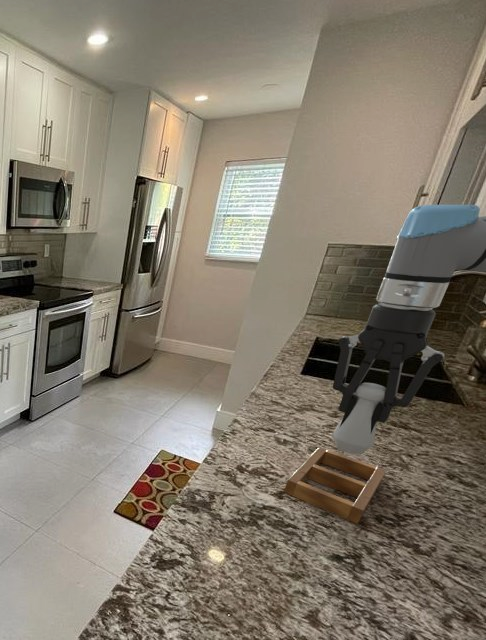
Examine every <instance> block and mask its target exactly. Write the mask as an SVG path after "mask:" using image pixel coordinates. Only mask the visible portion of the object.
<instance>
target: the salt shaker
mask: <svg viewBox="0 0 486 640" xmlns="http://www.w3.org/2000/svg"><path fill="white" fill-rule="evenodd" d="M385 392H386V387H385V386H384V385H381V384H377V383H373V382H361V383H360V384H359V385H358V387H357V388H356V390H355V393H354V395H357V400H356V402H355V404H354V406H353V409H352V411H351V413H350V415H349V416H348V418H347V419H346V420H345V421H344V423H343V424H342V425H341V426H340V424H341V422H342V419H343V417H342V418H341V420H340V421H339V423H338V424H337V426H336V427H335V429H334V430H333V434H332V438H333V440H334V446H335V447H336V449H338V450H339V451H341V452H344V453H347V454H350V455H358V456H361V455H362V454H363V453H365V452H367V450H370V449H371V448H372V447H374V445H375V439H376V432H377V424H378V422H376V424H375V426H374V428H373V430H372V433H371V417H372V415H373V412H374V410H375V408H376V405H377V404H379V403H380V401H382V402H384V397H385ZM339 427H340V428H339Z"/></svg>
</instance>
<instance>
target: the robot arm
mask: <svg viewBox="0 0 486 640" xmlns="http://www.w3.org/2000/svg"><path fill="white" fill-rule="evenodd" d="M480 212H481V211H480V207H479V206H478V205H476V204H425V205H419V206H416V207H413V208H412V209H411V210H410V211H409V213H408V214H407V216H406V219H405V220H404V222H403V225H402V227H401V229H400V231H399V233H398V234H397V240H396V243H395V246H394V249H393V252H392V255H391V258H390V259H389V263H388V266H387V269H386V272H385V274H384V276H383V279H382V282H381V284H380V287H379V289H378V292H377V295H376V297H375V300H376V301H377V303H376V304H375V305H373V306H372V309H371V311H370V314H369V315H368V316H369V317H368V320H367V322H366V324H365V328H364V329H362V330H361V331H360V332H359V334H356V335H344V336H342V337H339V339H338V345H339V350H340V352H339V357H338V361H337V366H336V370H335V374H334V379H333V383H332V389H333V390H334V391H338V392H340V393H341V394H342V397H341V400H340V403H339V406H338V411H339V412H342V413H344V414H343V417H342V418H343V419H342V418H341V420H342V422H341V424H340V426H341V425H342V424H343V423H344V421H345V420H346V419H347V418H348V416H349V415H350V413H351V411H352V409H353V406H354V404H355V402H356V400H357V395H355V390H356V388H357V387H358V385H359V384H361V383H363V380H364V378H365V377H366V375H367V374H368V372H369V370H370V369H371V367H372V365H373V364H374V362H375V361H376V360H384V361H386V362H389V371H388V376H387V382H386V387H385V388H386V392H385V397H384V401H380V403H379V404H377V405H376V408H375V410H374V412H373V415H372V417H371V433H372V430H373V428H374V426H375V424H376V422H377V423H381V424H385V423H386V422H387V421H388V419H389V417H390V416H391V413H392V410H393V408H395V407H403V408H406V407H408V406H410V404H411V402H412V401H413V399H414V398H415V396H416V394H417V392H418V391H419V389H420V387H421V386H422V385H423V382H424V381H425V379H426V378H427V376H428V374H429V373H430V372H431V370H432V368H433V367H435V366H436V365H437V364H438V363H441V361H442V360H443V359H444V358H445V354H446V353H445V352H444V351H442V350H441V351H440V350H439V351H437V350H436V349H434V348H432V347H430V346H429V345H428V343H429V342H428V339H427V336H428V334H429V331H430V329H431V326H432V324H433V322H434V319H435V318H436V314H437V313H436V311H435V310H433V309H436V308H438V307H440V306H441V303H442V300H443V299H444V296H445V293H446V291H447V289H448V288H449V285H450V282H451V279H452V277H453V275H454V273H455V271H457V272H458V271H459V272H466V271H467V272H482V273H483V272H485V273H486V215H484V216H479V214H480ZM358 342H360V345H361V346H362V348H363V350H364V352H365V356H364V357H363V359H362V361H361V363H360V365H359V366H358V368H357V370H356V371H355V373H354V375H353V376H352V378H351V379H350V382H349V383H348V384H346V380H347V375H348V371H349V366H350V363H351V358H352V354H353V349H354V348H355V347H356V346H357V343H358ZM420 352H421V354H422V355H421V357H420V360H421V361H422V364H421V365H420V366H419V367H418V370H417V371H416V373H415V375H414V376H413V377H412V380H411V381H410V383H409V385H408V386H407V388H406V390H405V392H404V393H403V395H402V396H399V397H397V396H398V392H399V391H398V390H399V385H400V380H401V377H402V376H401V375H402V369H403V366H404V361H406V360H407V359H410V358H411V357H413V356H415V355H416V354H418V353H420ZM376 425H377V424H376ZM339 428H340V427H339Z"/></svg>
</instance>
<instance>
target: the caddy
mask: <svg viewBox="0 0 486 640" xmlns="http://www.w3.org/2000/svg"><path fill="white" fill-rule="evenodd" d="M321 464H323V465H325V466H328V467H331V468H334V469H337V470H340V471H343V472H345V473H348V474H350V475H353V476H356V477H358V478H361V479H365V480H367V482H364V481H361V480H358V479H355V478H353V477H350V476H348V475H345V474H342V473H340V472H337V471H334V470H331V469H329V468H326V467H324V466H320V465H321ZM386 472H387V469H385V468H383V467H380V466H377V465H374V464H371V463H368V462H365V461H362V460H359V459H356V458H353V457H351V456H347V455H344V454H341V453H339V452H336V451H333V450H330V449H327V448H324V447H321V446H318V448H317V449H316V450H315V451H314V452H313V453H312V454H311V455H310V456H309V457H308V458H307V459H306V460H305V461H304V462H303V463H302V465H300V466H299V467H298V468H297V469H296V471H294V473H293V474H292V475H291V476H290V477H289V478H288V479H287V481H286V484H285V487H284V489H283V493H284V492H285V493H284V494H287V495H290V496H291V497H294V498H296V499H298V500H300V501H303V502H305V503H307V504H309V505H312V506H315V507H316V508H319V509H321V510H324V511H326V512H329V513H331V514H334V515H336V516H338V517H341V518H342V519H344V520H347V521H349V522H351V523H354V524H356V525H358V524H359V522H360V520H361V518H362V517H363V515H364V513H365V511H366V510H367V508H368V506H369V504H370V503H371V501H372V499H373V498H374V496H375V494H376V492H377V490H378V489H379V487H380V485H381V483H382V482H383V479H384V477H385V475H386ZM307 480H310V481H311V480H312V481H314V482H316V483H318V484H321V485H324V486H326V487H329V488H332V489H334V490H336V491H339V492H341V493H343V494H347V495H348V496H352V497H354V498H357V499H356V500H355V501H350V500H348V499H346V498H343V497H340V496H338V495H336V494H333V493H331V492H328V491H325V490H323V489H320V488H318V487H316V486H313V485H311V484H308V483H306V481H307Z"/></svg>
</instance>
